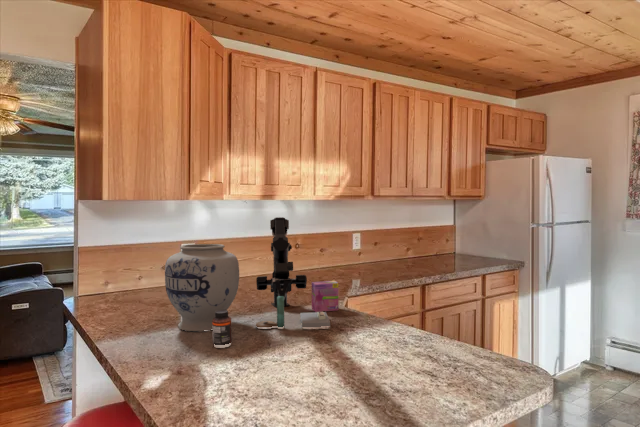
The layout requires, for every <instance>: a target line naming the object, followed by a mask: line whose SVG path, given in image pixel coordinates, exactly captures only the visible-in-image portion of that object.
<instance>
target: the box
mask: <svg viewBox="0 0 640 427" xmlns="http://www.w3.org/2000/svg"><path fill="white" fill-rule="evenodd" d="M339 297H340V296H339V282H338V281H336V280H322V281H311V310H312V311H313V312H314V311H315V312H323V311H325V312H331V311H332V312H333V311H339V309H340V308H339V307H340V306H339V300H340V299H339Z"/></svg>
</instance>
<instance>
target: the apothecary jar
mask: <svg viewBox="0 0 640 427" xmlns="http://www.w3.org/2000/svg"><path fill="white" fill-rule="evenodd" d="M224 248H225V244H222V243H220V244H219V243H198V244H197V243H193V244H191V243H190V244H183V245H180V249H181V251H180V252H176V253H174V254H172V255H171V256H169V257H168V258H167V260H166V262H165V266H164V285H165V291H166V295H167V298H168V300H169V302H170V304H171V305H172V306H173V308H174V310H176V311H177V313H178V314H179V315H180V317H181V318H182V319H181V321H180V322H179V323H178V324H177V327H178V329H179V330H181V329H182V330H181V331H183V330H186V331H185V332H187V331H204V330H211V329H213V328H212V321H213V319H214V318H215V312H216V311H217V310H228V309H229V307H231V305H232V304H233V302H234V300H235V299H236V296H237V293H238V289H239V284H240V283H239V282H240V264H239V260H238V257H237V256H236V255H235V254H234V253H232V252H229V251H226V250H225V249H224Z"/></svg>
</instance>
